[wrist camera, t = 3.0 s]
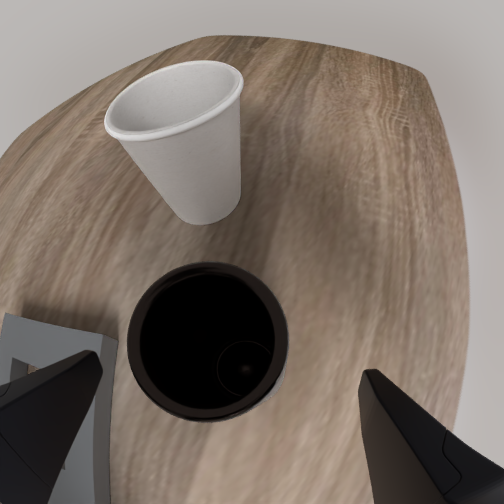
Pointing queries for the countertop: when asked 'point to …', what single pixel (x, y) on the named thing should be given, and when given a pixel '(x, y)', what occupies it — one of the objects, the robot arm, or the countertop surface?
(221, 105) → the dixie cup
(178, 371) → the gray tube
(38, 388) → the robot arm
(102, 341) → the socket board
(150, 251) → the countertop surface
